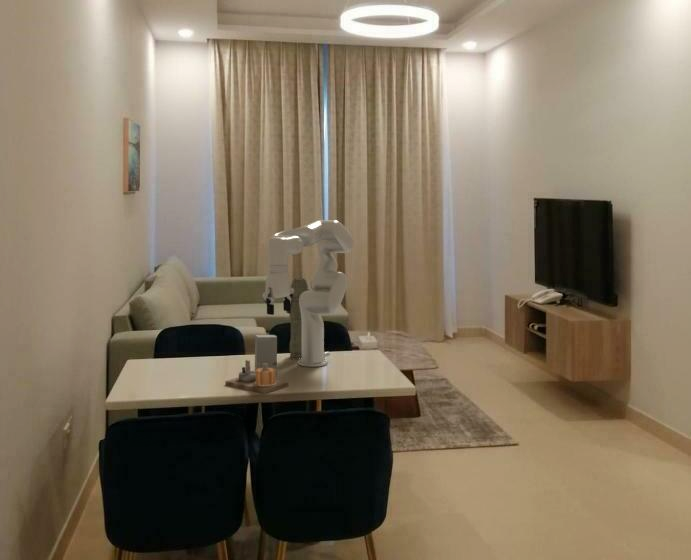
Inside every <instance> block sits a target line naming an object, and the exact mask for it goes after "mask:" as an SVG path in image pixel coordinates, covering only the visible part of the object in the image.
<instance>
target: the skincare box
mask: <svg viewBox="0 0 691 560" xmlns="http://www.w3.org/2000/svg"><path fill="white" fill-rule="evenodd" d="M254 339H255V340H254V372H256V370H257V369H258V368H261V369H262V368H263V363H267V364H268V368H273V369H275V376H278V375H277V373H278V372H277V371H278V365H277V363H278V336H277V335H275V334H254Z"/></svg>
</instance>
